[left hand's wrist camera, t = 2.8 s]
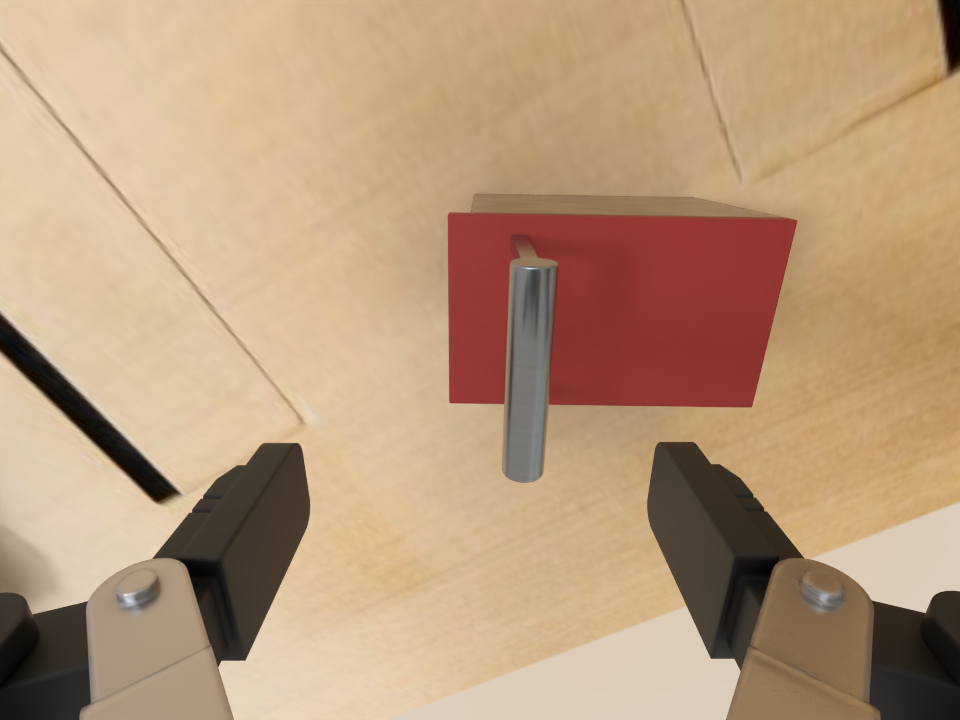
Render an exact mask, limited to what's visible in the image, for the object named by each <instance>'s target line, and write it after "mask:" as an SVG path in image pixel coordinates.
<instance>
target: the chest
mask: <svg viewBox="0 0 960 720" xmlns="http://www.w3.org/2000/svg"><path fill="white" fill-rule="evenodd" d="M471 213H509V214H571V215H632V216H694V217H756V218H784V217H780V216H775V215H771V214H766V213H761V212H757V211H752V210H748V209H743V208H739V207H734V206H729V205H725V204H720V203H716V202H711V201H707V200H702V199H697V198H693V197H634V196H573V195H512V194H474V196H473V203H472V210H471Z"/></svg>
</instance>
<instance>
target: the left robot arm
mask: <svg viewBox="0 0 960 720" xmlns="http://www.w3.org/2000/svg"><path fill="white" fill-rule="evenodd" d="M647 509H648V518H649V522H650V526H651V529H652V531H653V533H654V535H655V537H656V540H657V542H658V544H659V546H660V548H661V551H662V553H663V555H664V557H665V559H666V561H667V564H668V566H669V568H670V570H671V572H672V575H673V577H674V579H675V581H676V583H677V585H678V588H679V590H680V592H681V594H682V596H683V599H684V601H685V603H686V605H687V607H688V610H689V612H690V614H691V616H692V618H693V620H694V623H695V625H696V627H697V629H698V631H699V634H700V636H701V638H702V640H703V642H704V644H705V647H706V649H707V651H708V653H709V655H710V658H711V659H735V661H736V663H737V665H738V667H739V669H740V671H741V672H740V676H739V679H738V682H737V685H736V689H735V692H734V695H733V699H732V702H731V705H730V708H729V712H728V715H727V718H726V720H960V591H944V592H940V593H938V594H936V595H935V596H934V597H933V598H932V600H931V602H930V604H929V607H928V609H927V611H926V613H922V612H918V611H914V610H910V609H905V608H901V607H897V606H893V605H888V604H884V603H880V602H875V601H872V600H871V599H870V597H869V595H868V594H867V593H866V592H865V590H864V589H863V588H862V587H861V586H860V585H859V584H858V583H857V582H856V581H854V580H853V579H852V578H850V577H849V576H847V575H846V574H844V573H843V572H841V571H839V570H837V569H835V568H833V567H831V566H829V565H826V564H824V563H821V562H818V561H814V560H810V559H805V558H804V557H803V556H802V555H801V553H800V552H799V551H798V550H797V549H796V547H795V546H794V545H793V544H792V542H791V541H790V540H789V539H788V537H787V536H786V535H785V534H784V532H783V531H782V530H781V529H780V527H779V526H778V525H777V524H776V522H775V521H774V520H773V519H772V517H771V516H770V515H769V514H768V512H765V511H764V507H763V506H762V505H761V504H760V502H759V501H758V500H757V499H756V498H754V497H753V494H752V492H751V491H750V490H749V489H748V487H747V486H746V485H745V484H744V482H743V481H742V480H741V479H740V478H739V477H738V476H736V475H735V474H733V473H732V472H730V471H729V470H727V469H726V468H724V467H723V466H721V465H720V464H711V463H710V462H709V461H708V459H707V458H706V457H705V455H704V454H703V453H702V451H701V450H700V449H699V447H698V446H697V445H696V444H695V443H693V442H659V443H658V444H657V446H656V448H655V453H654V460H653V466H652V473H651V480H650V486H649V493H648V501H647ZM309 515H310V498H309V491H308V485H307V478H306V471H305V465H304V458H303V452H302V448H301V446H300V445H299V444H298V443H263V444H262V445H261V446H260V447H259V448H258V450H257V451H256V452H255V454H254V455H253V456H252V458H251V459H250V460H249V462H248V463H247V464H246V465H237V466H236V467H234V468H233V469H231V470H230V471H228V472H227V473H225V474H224V475H222V476H221V477H219V478H218V479H216V481H215V482H214V483H213V484H212V486H211V487H210V488H209V489H208V491H207V492H206V493H205V494H204V495H203V499H200V500H199V502H198V503H197V504H196V505H195V507H194V508H193V509H192V513H189V514H188V515H187V517H186V518H185V519H184V520H183V521H182V523H181V524H180V525H179V526H178V528H177V529H176V530H175V531H174V533H173V534H172V535H171V536H170V538H169V539H168V540H167V541H166V542H165V544H164V545H163V546H162V547H161V549H160V550H159V551H158V552H157V554H156V555H155V556H154V557H153V559H150V560H146V561H142V562H139V563H136V564H134V565H131V566H129V567H127V568H125V569H123V570H121V571H119V572H117V573H116V574H114V575H113V576H111V577H110V578H108V579H107V580H106V581H104V582H103V583H102V584H101V585H100V586H99V587H98V588H97V589H96V590H95V592H94V593H93V594H92V595H91V597H90V599H89V601H87V602H83V603H80V604H75V605H71V606H67V607H62V608H58V609H54V610H50V611H45V612H41V613H37V614H33V615H32V613H31V610H30V608H29V606H28V604H27V601H26V599H25V598H24V597H23V596H21V595H19V594H15V593H0V720H234V718H233V715H232V712H231V708H230V705H229V702H228V699H227V695H226V692H225V689H224V685H223V682H222V679H221V676H220V672H219V669H218V667H219V665H220V663H221V661H245V660H246V658H247V656H248V654H249V652H250V649H251V647H252V645H253V643H254V641H255V639H256V636H257V634H258V632H259V630H260V628H261V626H262V623H263V621H264V619H265V617H266V615H267V613H268V610H269V608H270V606H271V604H272V602H273V600H274V598H275V595H276V593H277V591H278V589H279V587H280V585H281V582H282V580H283V578H284V576H285V574H286V572H287V569H288V567H289V565H290V563H291V561H292V559H293V556H294V554H295V552H296V550H297V548H298V546H299V544H300V541H301V539H302V537H303V535H304V533H305V531H306V528H307V525H308V521H309Z"/></svg>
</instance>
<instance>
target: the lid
mask: <svg viewBox="0 0 960 720" xmlns="http://www.w3.org/2000/svg"><path fill="white" fill-rule="evenodd" d="M796 224H797V220H794V219H789V218H756V217H694V216H632V215H571V214H509V213H449V214H448V289H449V402H450V403H475V404H504V427H503V454H502V471H503V473H504V475H505V476H506V477H507V478H509V479H510V480H513V481H516V482H521V483H528V482H533V481H536V480H538V479H539V478H540V477H541V476H542V475H543V471H544V458H545V444H546V431H547V417H548V405H617V406H689V407H752V405H753V401H754V397H755V393H756V388H757V384H758V380H759V376H760V372H761V368H762V364H763V360H764V356H765V351H766V347H767V343H768V339H769V335H770V331H771V327H772V323H773V319H774V314H775V310H776V306H777V302H778V298H779V294H780V290H781V286H782V282H783V278H784V273H785V269H786V265H787V261H788V257H789V253H790V249H791V245H792V241H793V236H794V232H795V228H796Z"/></svg>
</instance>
